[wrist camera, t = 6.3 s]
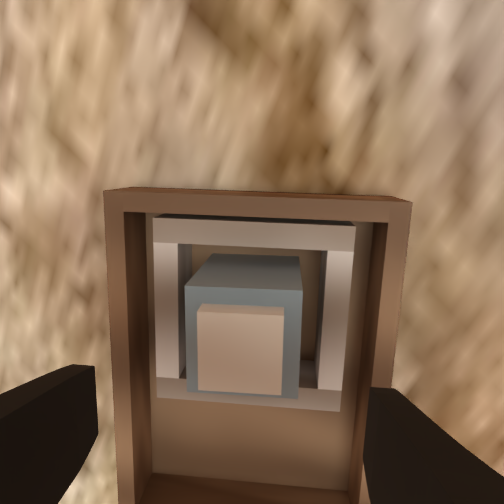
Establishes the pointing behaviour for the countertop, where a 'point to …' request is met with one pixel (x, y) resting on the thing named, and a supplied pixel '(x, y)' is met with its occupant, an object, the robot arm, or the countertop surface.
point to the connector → (244, 326)
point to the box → (311, 349)
